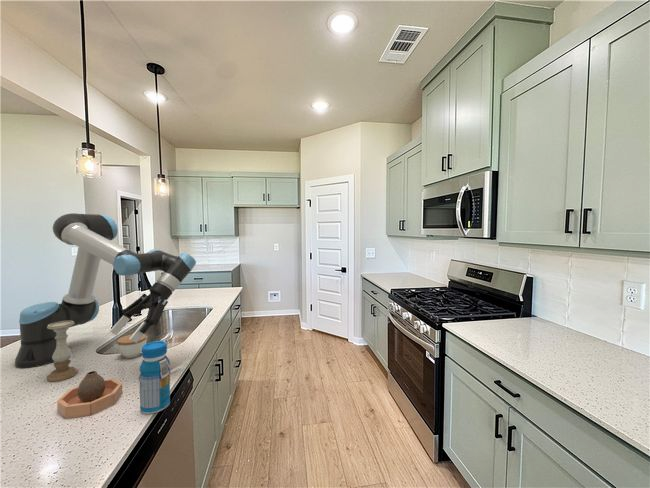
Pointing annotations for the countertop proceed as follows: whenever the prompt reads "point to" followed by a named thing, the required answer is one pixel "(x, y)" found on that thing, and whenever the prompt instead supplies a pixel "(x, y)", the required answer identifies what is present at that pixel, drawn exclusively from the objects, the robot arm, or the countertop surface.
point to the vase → (91, 387)
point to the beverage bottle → (154, 378)
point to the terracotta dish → (75, 407)
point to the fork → (181, 366)
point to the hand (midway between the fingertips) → (122, 337)
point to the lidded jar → (130, 346)
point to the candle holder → (61, 353)
